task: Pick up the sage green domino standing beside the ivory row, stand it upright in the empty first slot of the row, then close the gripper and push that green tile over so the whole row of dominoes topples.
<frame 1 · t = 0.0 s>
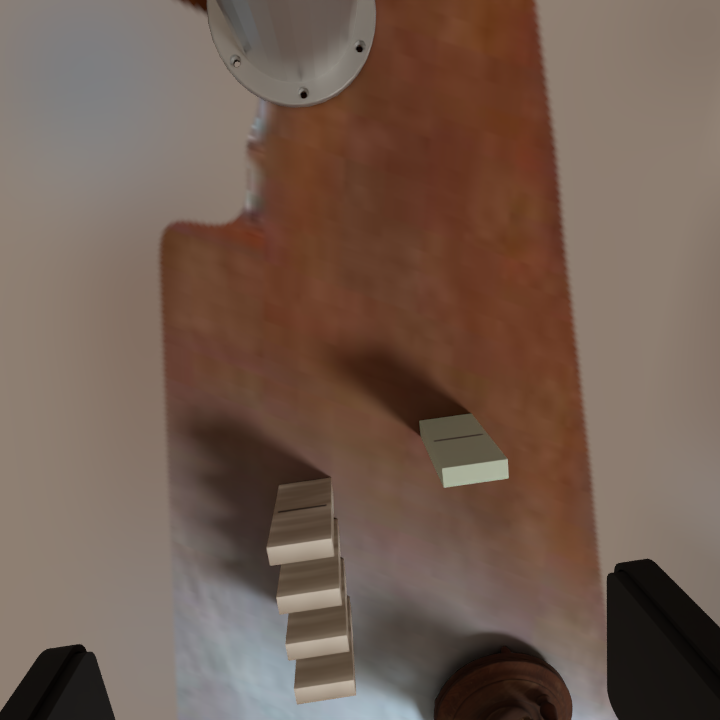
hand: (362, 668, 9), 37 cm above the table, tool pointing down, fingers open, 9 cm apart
domino 5: (326, 606, 52), on the table
domino 4: (319, 568, 51), on the table
domino 1: (445, 424, 48), on the table
domino 3: (313, 529, 50), on the table
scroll: (496, 695, 56), on the table
domino 2: (306, 488, 48), on the table
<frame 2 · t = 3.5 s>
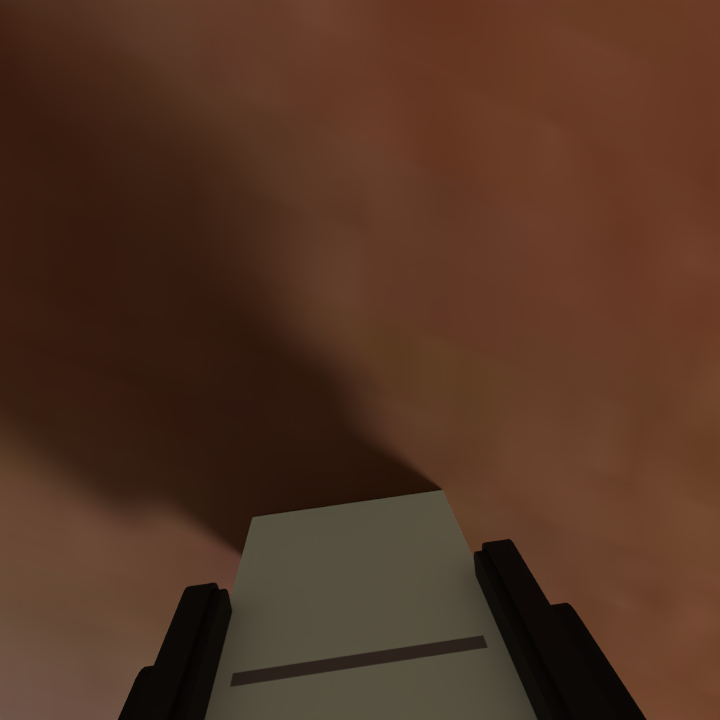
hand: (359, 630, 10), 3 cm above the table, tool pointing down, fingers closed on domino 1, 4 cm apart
domino 1: (352, 530, 13), on the table, touching gripper
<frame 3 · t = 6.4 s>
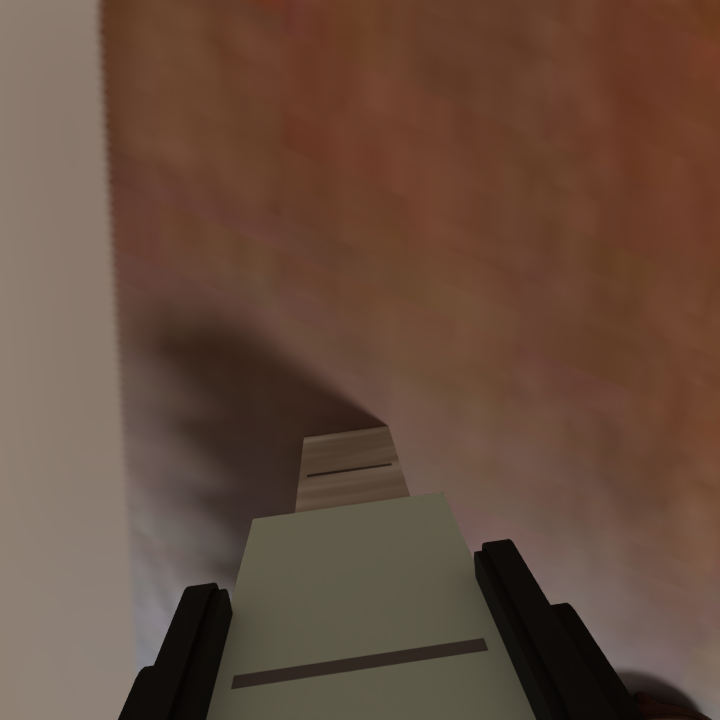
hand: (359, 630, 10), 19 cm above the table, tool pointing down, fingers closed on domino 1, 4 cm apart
domino 1: (352, 532, 13), point 16 cm above the table, touching gripper
domino 2: (347, 444, 30), on the table
when the fingers open (4 cm above the table, at t = 9.6 s): domino 1 stays where it is, on the table.
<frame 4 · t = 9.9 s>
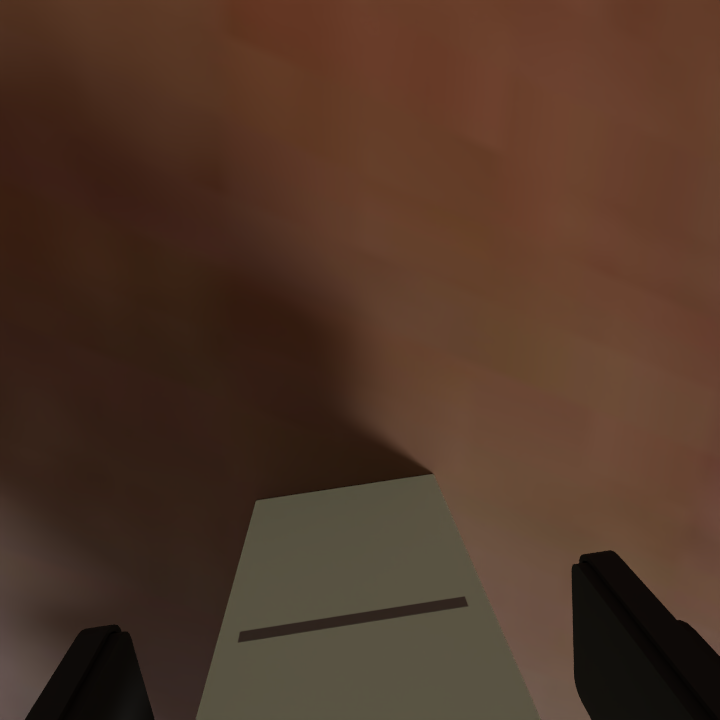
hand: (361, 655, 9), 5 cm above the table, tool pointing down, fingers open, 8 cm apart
domino 1: (349, 512, 14), on the table
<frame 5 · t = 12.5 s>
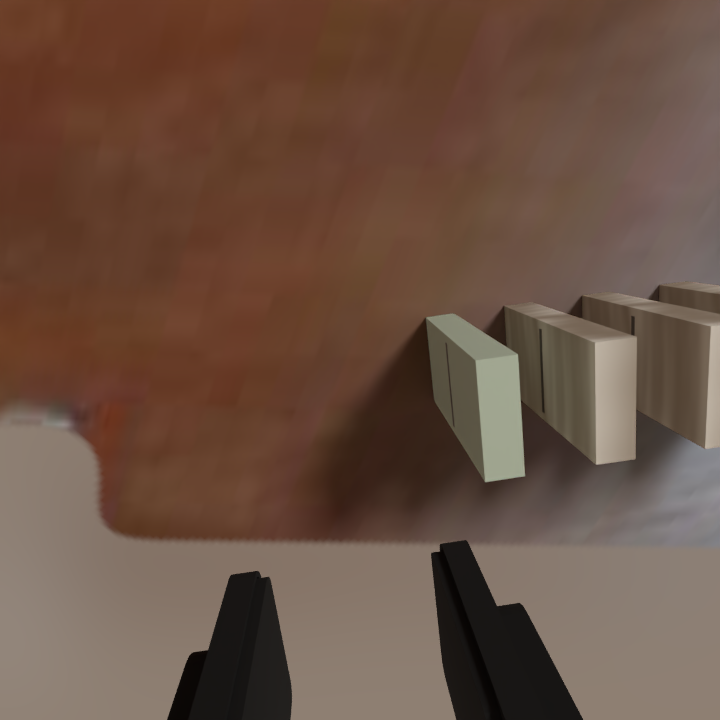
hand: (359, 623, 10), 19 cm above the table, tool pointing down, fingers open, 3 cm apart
domino 4: (671, 326, 29), on the table
domino 1: (443, 358, 29), on the table
domino 3: (596, 336, 29), on the table
domino 2: (520, 346, 29), on the table
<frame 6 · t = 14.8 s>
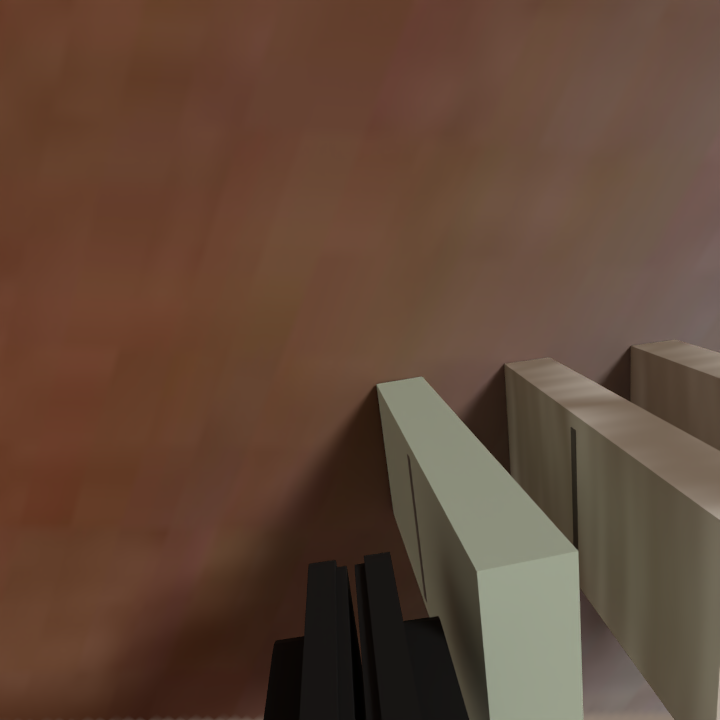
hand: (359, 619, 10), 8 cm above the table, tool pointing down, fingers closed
domino 1: (407, 447, 18), on the table, touching gripper
domino 3: (651, 409, 18), on the table
domino 2: (529, 427, 18), on the table
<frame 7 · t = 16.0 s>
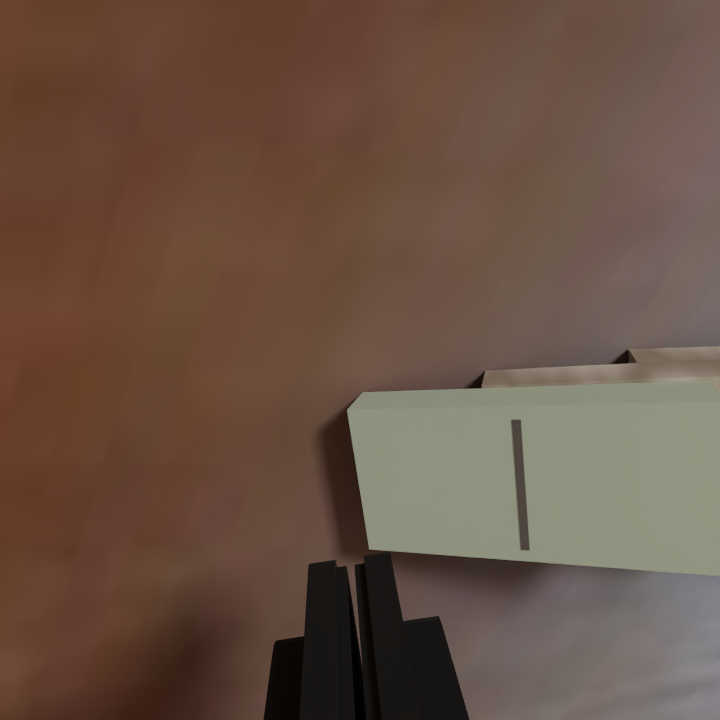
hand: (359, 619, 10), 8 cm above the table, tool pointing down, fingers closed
domino 1: (365, 470, 17), point 1 cm above the table, tilted 68°, touching domino 2
domino 3: (631, 425, 17), point 1 cm above the table, tilted 67°, touching domino 2, domino 4
domino 2: (489, 447, 17), point 1 cm above the table, tilted 69°, touching domino 1, domino 3
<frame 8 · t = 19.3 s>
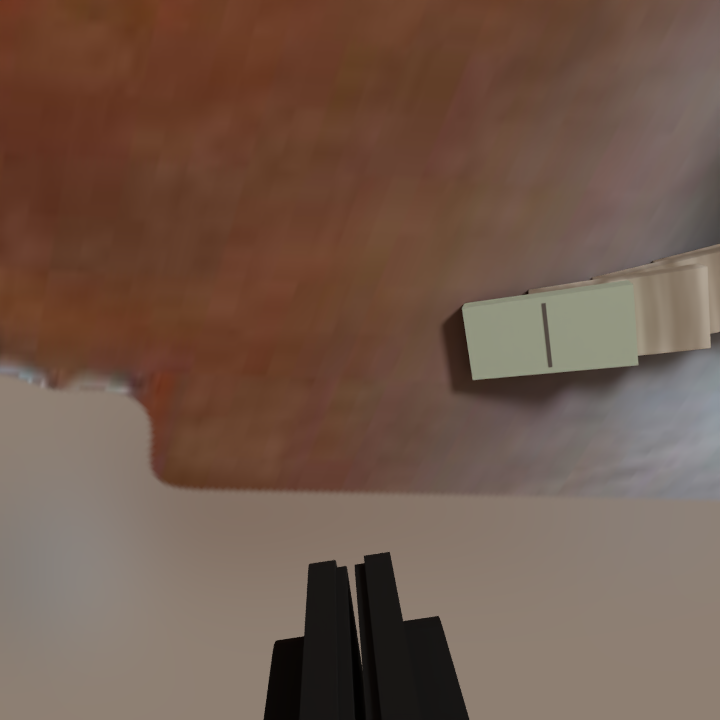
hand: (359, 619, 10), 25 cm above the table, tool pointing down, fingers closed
domino 1: (468, 341, 34), point 1 cm above the table, tilted 69°, touching domino 2
domino 3: (600, 315, 34), point 1 cm above the table, tilted 69°, touching domino 4
domino 2: (533, 327, 34), point 1 cm above the table, tilted 68°, touching domino 1
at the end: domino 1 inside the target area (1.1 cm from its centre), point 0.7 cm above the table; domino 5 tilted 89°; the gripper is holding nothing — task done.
